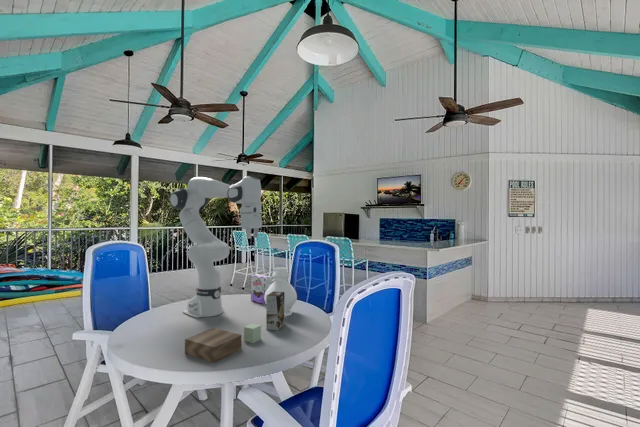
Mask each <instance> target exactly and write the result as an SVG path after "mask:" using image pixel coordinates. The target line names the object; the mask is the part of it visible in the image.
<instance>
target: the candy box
mask: <svg viewBox="0 0 640 427" xmlns="http://www.w3.org/2000/svg"><path fill="white" fill-rule="evenodd" d="M272 283H273V277H272V275H270V276H268V275H264V274H259V273H256V274H251V275H250V301H251V302H254V303H258V304H262V305H267V304H266V303H265V300H264V295H265V292H266V290H267V289H268V288H269V286H270V285H271V284H272Z"/></svg>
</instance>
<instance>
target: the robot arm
mask: <svg viewBox="0 0 640 427" xmlns="http://www.w3.org/2000/svg"><path fill="white" fill-rule="evenodd" d="M261 197H262V184H261V180H260V178H258V177H255V176H250V175H245V176H243V178H242V179H241V180H240V181H238V182H236V183H234V184H233V183H232V184H231V185H230V184H228V183H225V182H223V181H220V180H217V179H213V178H210V177H205V176H196V177H192V178H191V179H189V180H188V183H187V187H186V188H184V187H180V188H179V189H177V190H174V191H173V192H172V193H171V194H170V196H169V203H170V205H171V207H172V208H173V209H176V210H181V211H180V212H179V214H178V217H179V220H180V223H181V226H182V227H183V230H184V231H185V233H186V234H187V237H188V238H189V240H190V241H191V242H192V243H195V244H194V245H192V246H190V247H189V248H188V250H187V257H188V260H189V261H190V263H192V264H193V265H194V266H195V267H196V271H197V273H198V288H196V289H195V292H196V294H195V295H194V296H193V297H192V298H191V299H189V300H188V302H187V308H186V309H183V310H182V313H183V314H185V315H187V316H191V317H193V318H195V319H197V318H208V317H215V316H218V315H219V316H220V315H221V314H223V312H224V307H223V304H222V303H223V302H222V295H221V293H222V287H221V273H220V271H219V270H218V269H216V267H215V265H214V263H215V262H220V261H223V260H224V259H227V258H228V257H229V255H230V246H229V244H228V243H226V242H224V241H222V240H220V239H219V238H218V237H216V236H215V235H214V234H213V233H212V231H210V229H209V227H208V226H207V225H206V224H205V221H204V220H203V218H202V217H201V215H200V211H201V212H202V211H204V210H205V208H206V207H207V206H208V204H209V202H210V199H218V198H220V199H221V198H228V200H229V201H230V203H232V204H242V206H241V207H240V208H239V213H240V225H241V229H242V230H245V234H246V238H247V239H248V240H249V239H251V238H252V235H253V238H258V236H259V229H261V228H262V226H263V221H262V214H261V213H262V200H261ZM252 230H253V234H252V233H251V232H252Z"/></svg>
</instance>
